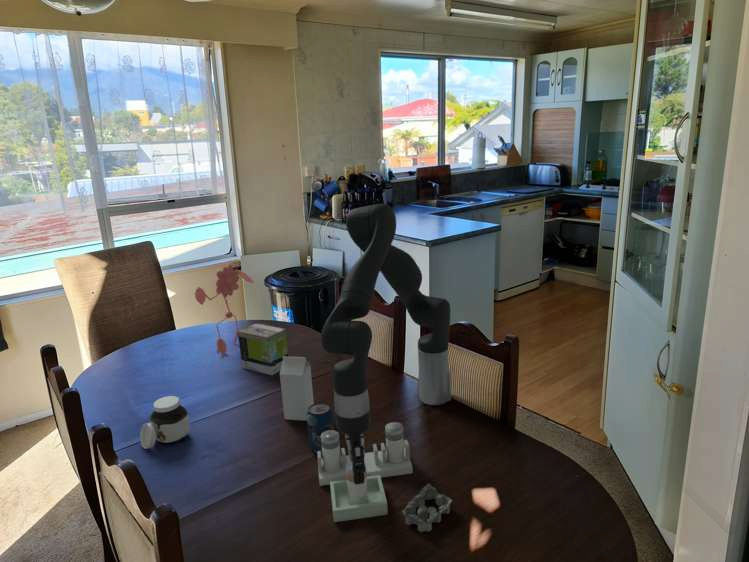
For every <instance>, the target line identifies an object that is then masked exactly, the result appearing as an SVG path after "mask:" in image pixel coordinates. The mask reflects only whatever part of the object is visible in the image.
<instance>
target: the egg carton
mask: <svg viewBox="0 0 749 562" xmlns="http://www.w3.org/2000/svg"><path fill="white" fill-rule="evenodd" d="M419 491H420V492H419V493H418V494H416V495H414V498H413V499H411V500H410V501H408V503H407V504H406V506H405V508H404V509H402V511H401V513H402V514H403V515H404V519H405V524H406V525H407V526H410V525H416V526H417V531H419V532H420V533H422V532H429V533H430V532H431V531H432V529H433V526H432V525H433V523H438V524H439V523H440V522H441V521H442V514H446V515H448V514H449V513H450V512H451V503H452V502H453V499H452V498H450V497H449V496H446V495H445V494H444V493H442V494H440V493H439V491H438V490H437V489H436V487H433V486H432V485H431V483H428V484H426V485H425V486H424V487H422V489H421V490H419ZM426 500H434V501H435V504H436V505H437V506H438V509H437V507H434V506H428V507H427V506H425V504H426Z"/></svg>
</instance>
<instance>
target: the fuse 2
mask: <svg viewBox="0 0 749 562" xmlns="http://www.w3.org/2000/svg"><path fill="white" fill-rule="evenodd" d="M384 433H385V435H384V436H385V449H386V451H387V461H388V462H389V463H391V464H399V463H402V462H403V461H404V440H405V439H404V437H405V435H404V434H405V433H404V425H403V424H402V423H400V422H397V421H396V422H395V421H394V422H388V423H387V424H386V425H385V428H384Z"/></svg>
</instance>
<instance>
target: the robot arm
mask: <svg viewBox="0 0 749 562" xmlns="http://www.w3.org/2000/svg"><path fill="white" fill-rule="evenodd" d="M345 225H346V226H345V227H346V230H347V232H348V235H349V236H350V239H351V240H352V241H353V242H354V244H355V245H356V246H357V247H358V249H360V250H361V252H363V253H362V255H361V256H360V257H359V258H358V259H357V260H356V261H355V263H354V264H353V265H352V267H351V268H350V269H349V270H348V272H347V274H346V275H345V277H344V280H343V283H342V287H341V289H340V290H341V291H340V295H339V299H338V301H337V303H336V305H335V307H334V308H333V310H332V312H331V314H330V315H329V316H328V317H327V319H326V320H325V323H324V325H323V326H322V330H321V333H320V343H321V347H322V348H323V350H324V351H325V352H327V353H329V354H336V355H337V354H339V355H352V356H353V358H349V359H343V360H340V361H338V362H336V363H335V364H334V366H333V369H332V377H333V389H334V393H333V394H334V397H333V402H334V403H333V404H334V412H335V413H334V414H335V415H334V416H335V426H336V429H337V431H338V432H340V433H341V434H344V437H345V444H346V446H347V450H348V455H349V459H350V460H351V461H352V469H353V474H354V483H355V484H356V485H357V484H363V483H364V472H365V470H366V469H365V463H364V457H365V453H366V452H365V445H364V444H365V436H364V433H365V432H367V431H368V429H370V427H371V425H372V424H371V422H372V421H371V412H370V411H371V410H370V397H369V392H368V391H369V390H368V383H367V364H368V359H369V358H368V357H369V352H370V349H371V345H372V341H373V332H372V331H373V330H372V329H371V327H370V325H369V324H368V323H367V322H365V321H363V320H358V319H362V318H365V317H367V316H368V315H369V313H370V310H371V306H372V301H373V296H374V292H375V288H376V283H377V282H378V281H377V280H378V277H379V274H380V273H381V274H382V276H383V277H384V279H385V280H386V282H387V283H388V284H389V286H390V287H391V288H392V289H393V291H394V292H395V294H396V295H397V297H398V298H399V299H400V300H401V302H402V303H403V305H404V307H405V309H406V311H407V313H408V315H409V316H410V318H411V320H412V322H414V324H416V325H417V326H421V327H425V328H431V329H432V332H431V333H428V334H424V335H422V336H420V337H419V338H418V340H417V352H418V353H417V356H418V358H417V359H418V360H417V361H418V363H417V364H418V389H419V391H418V394H419V397H418V398H419V400H420V401H421V403H423V404H426V405H429V406H441V405H444V404H446V403H447V402H451V401H452V397H451V396H452V394H451V393H452V392H451V391H452V390H451V389H452V386H451V385H452V383H451V378H452V376H451V371H450V370H449V368H450V367H449V343H450V333H451V332H450V329H451V306H450V301H448V300H447V299H446V298H442V297H435V296H429V295H426V294H423V293H422V291H420V288H421V285H422V281H423V273H422V271H421V269H420V266H419V265H418V264H417V262H416V261H415V259H414V258H413V257H412V255H410V254H409V253H408V252H406V251H405V250H403V249H402V248H399V247H397V246H395V245H393V244H392V243H393V242H394V241H393V240H395V239H394V237H395V235H396V230H397V218H396V215H395V212H394V210H393V208H392V207H391V206H390V205H389V204H387V203H377V204H371V205H365V206H361V207H356V208H354V209H351V210H349V212H348V213H347V215H346V216H345ZM357 463H361V464H357ZM355 464H356V465H355Z"/></svg>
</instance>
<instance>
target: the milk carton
mask: <svg viewBox="0 0 749 562" xmlns="http://www.w3.org/2000/svg"><path fill="white" fill-rule="evenodd" d="M279 379H280V389H281V397H282V407H283V416H284V420H290V421H292V420H293V421H306V422H307V413H308V409H309V407H310V406H311V405H313V404H315V401H314V391H313V380H312V369H311V364H310V363H309V362H308V361H307V358H306V357H305V356H288V357H284V356H283V362H282V366H281V370H280V371H279Z"/></svg>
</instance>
